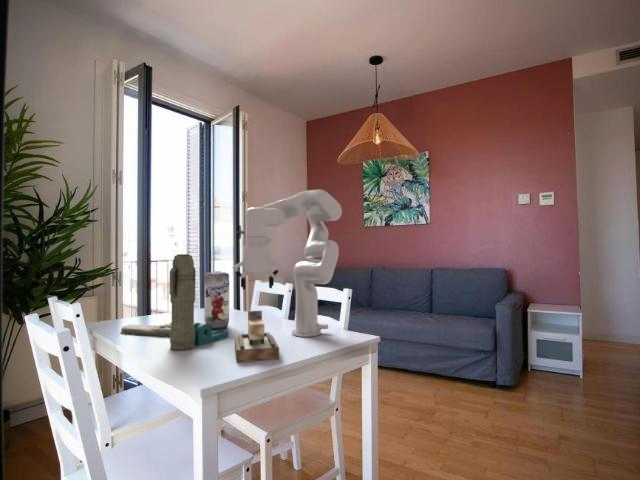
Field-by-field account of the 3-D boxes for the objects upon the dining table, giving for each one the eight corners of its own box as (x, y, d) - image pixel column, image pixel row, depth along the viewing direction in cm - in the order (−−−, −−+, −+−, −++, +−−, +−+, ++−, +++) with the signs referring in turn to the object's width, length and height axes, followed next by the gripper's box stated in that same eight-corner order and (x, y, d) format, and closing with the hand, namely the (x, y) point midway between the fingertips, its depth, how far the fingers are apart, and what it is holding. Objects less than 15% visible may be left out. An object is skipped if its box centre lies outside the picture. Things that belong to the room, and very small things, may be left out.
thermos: (161, 351, 135) (162, 254, 136) (182, 342, 147) (182, 254, 147) (182, 353, 133) (183, 255, 133) (201, 344, 144) (202, 254, 145)
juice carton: (203, 327, 174) (204, 269, 175) (226, 325, 179) (226, 269, 179) (206, 331, 166) (206, 270, 167) (230, 329, 171) (230, 270, 171)
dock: (271, 345, 143) (272, 331, 143) (278, 359, 126) (278, 343, 126) (234, 347, 140) (234, 333, 140) (236, 362, 122) (236, 346, 122)
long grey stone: (131, 332, 170) (115, 339, 161) (130, 321, 170) (114, 327, 160) (201, 332, 164) (189, 338, 154) (200, 320, 163) (188, 326, 154)
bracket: (198, 346, 142) (198, 325, 142) (186, 344, 146) (186, 324, 146) (231, 336, 158) (231, 318, 158) (220, 334, 161) (220, 316, 161)
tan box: (261, 337, 138) (261, 310, 138) (264, 344, 129) (264, 315, 129) (247, 338, 137) (248, 311, 137) (249, 345, 127) (249, 316, 127)
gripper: (278, 241, 142) (279, 286, 142) (232, 241, 137) (232, 288, 137) (282, 241, 135) (282, 288, 135) (233, 242, 130) (233, 291, 130)
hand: (257, 288), depth 136 cm, fingers open, 9 cm apart
